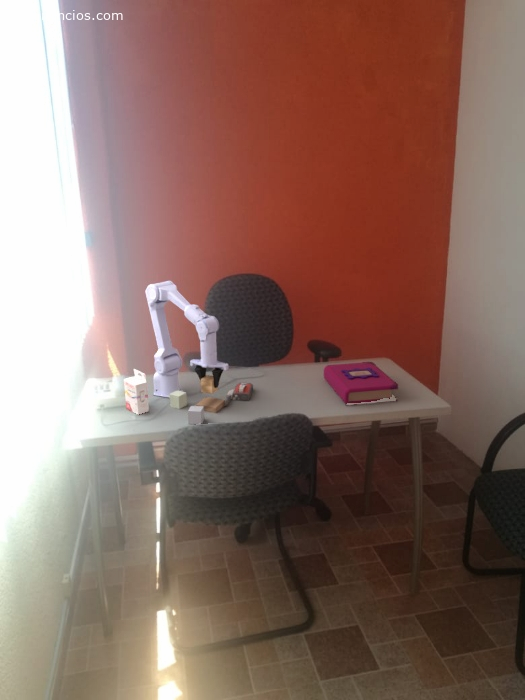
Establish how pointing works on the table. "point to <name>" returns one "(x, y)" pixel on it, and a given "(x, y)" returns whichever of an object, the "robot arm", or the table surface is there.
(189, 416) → the slate block
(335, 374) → the book
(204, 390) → the oak block
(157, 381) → the robot arm
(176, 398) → the sage block
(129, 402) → the ink cartridge box
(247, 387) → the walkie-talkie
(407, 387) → the table surface
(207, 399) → the tan flat block
